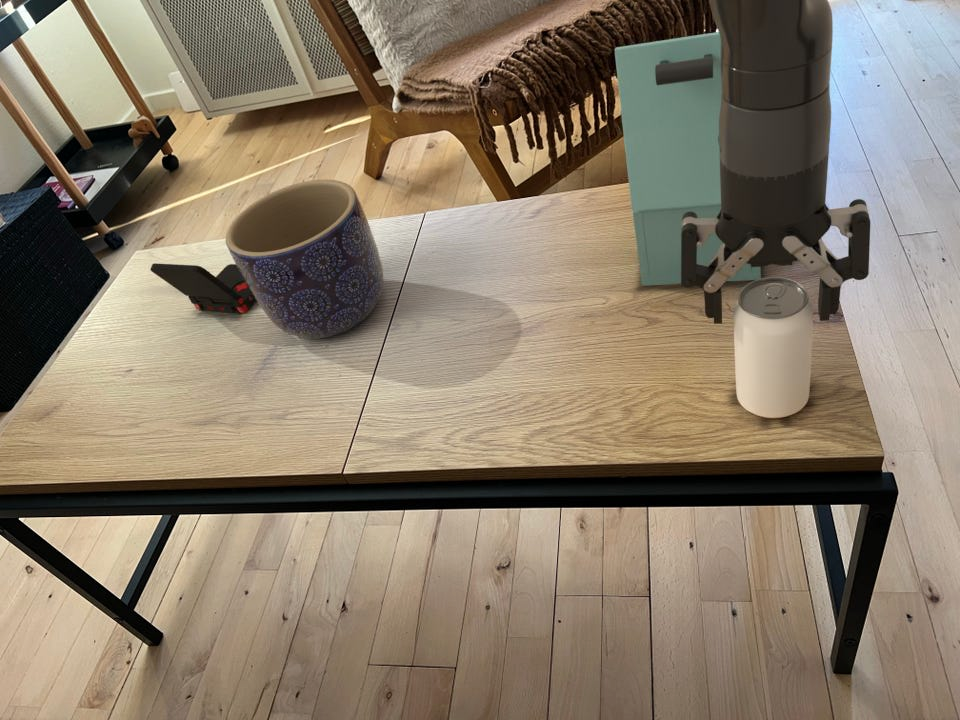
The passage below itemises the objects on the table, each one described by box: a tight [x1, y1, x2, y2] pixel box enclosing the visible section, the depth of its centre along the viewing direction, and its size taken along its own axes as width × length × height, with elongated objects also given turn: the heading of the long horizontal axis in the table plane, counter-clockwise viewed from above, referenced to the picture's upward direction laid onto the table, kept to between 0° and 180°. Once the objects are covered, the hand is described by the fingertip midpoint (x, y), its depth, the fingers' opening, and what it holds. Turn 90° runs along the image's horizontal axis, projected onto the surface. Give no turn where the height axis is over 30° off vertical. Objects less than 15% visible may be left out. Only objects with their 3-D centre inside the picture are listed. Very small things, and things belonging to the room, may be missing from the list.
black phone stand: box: [149, 262, 257, 315], centre depth 107 cm, size 9×12×10 cm
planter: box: [225, 179, 385, 340], centre depth 97 cm, size 16×16×15 cm
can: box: [733, 276, 814, 419], centre depth 70 cm, size 6×6×12 cm
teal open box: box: [632, 203, 762, 287], centre depth 91 cm, size 16×13×10 cm
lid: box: [614, 31, 722, 212], centre depth 76 cm, size 17×13×5 cm
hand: (770, 316), depth 67 cm, fingers open, 8 cm apart
